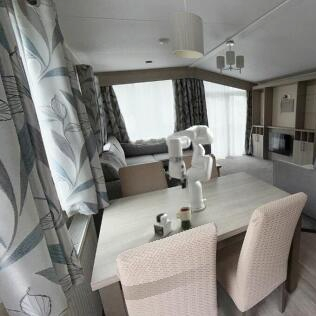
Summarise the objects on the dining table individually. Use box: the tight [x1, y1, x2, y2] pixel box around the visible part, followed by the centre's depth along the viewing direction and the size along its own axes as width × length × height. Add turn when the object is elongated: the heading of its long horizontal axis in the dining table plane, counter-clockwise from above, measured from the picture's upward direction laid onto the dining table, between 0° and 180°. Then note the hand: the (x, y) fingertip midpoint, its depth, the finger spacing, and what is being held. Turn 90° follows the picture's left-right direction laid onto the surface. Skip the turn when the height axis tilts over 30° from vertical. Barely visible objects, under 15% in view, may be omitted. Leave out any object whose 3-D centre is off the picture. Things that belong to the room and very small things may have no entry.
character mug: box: [175, 205, 195, 230], centre depth 124 cm, size 11×7×13 cm, turn 122°
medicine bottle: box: [153, 212, 173, 238], centre depth 119 cm, size 7×7×12 cm
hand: (178, 186), depth 118 cm, fingers open, 9 cm apart
